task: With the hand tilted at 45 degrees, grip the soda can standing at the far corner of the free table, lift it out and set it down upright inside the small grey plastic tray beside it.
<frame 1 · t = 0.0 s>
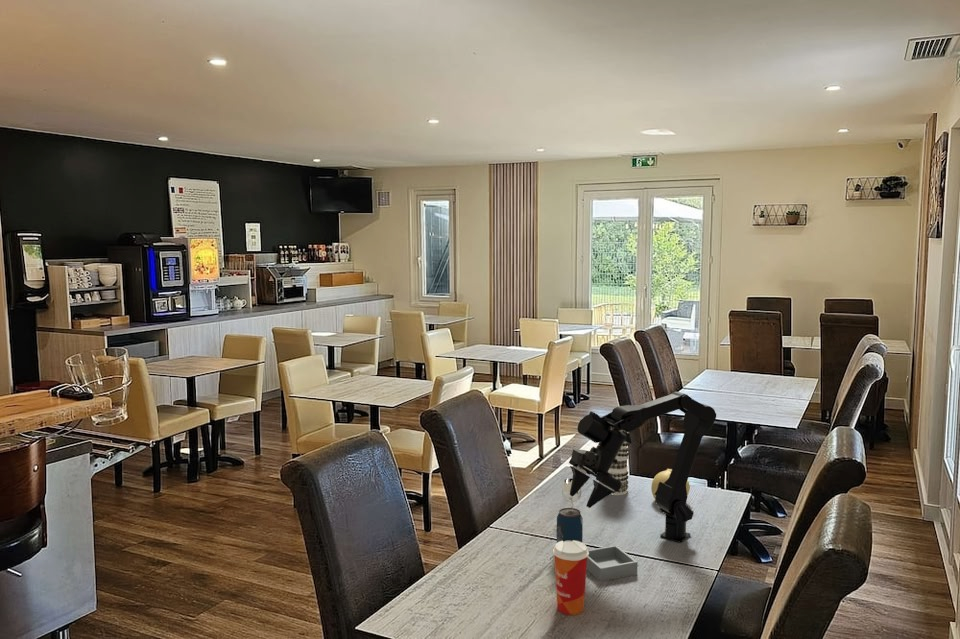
hand: (579, 501, 192), 15 cm above the table, tool tilted 35°, fingers open, 9 cm apart
coffee cup: (570, 609, 165), on the table
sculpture: (670, 503, 231), on the table
decorative candle: (615, 491, 242), on the table
soda can: (569, 555, 194), on the table
wineglass: (571, 519, 218), on the table
tray: (608, 568, 185), on the table
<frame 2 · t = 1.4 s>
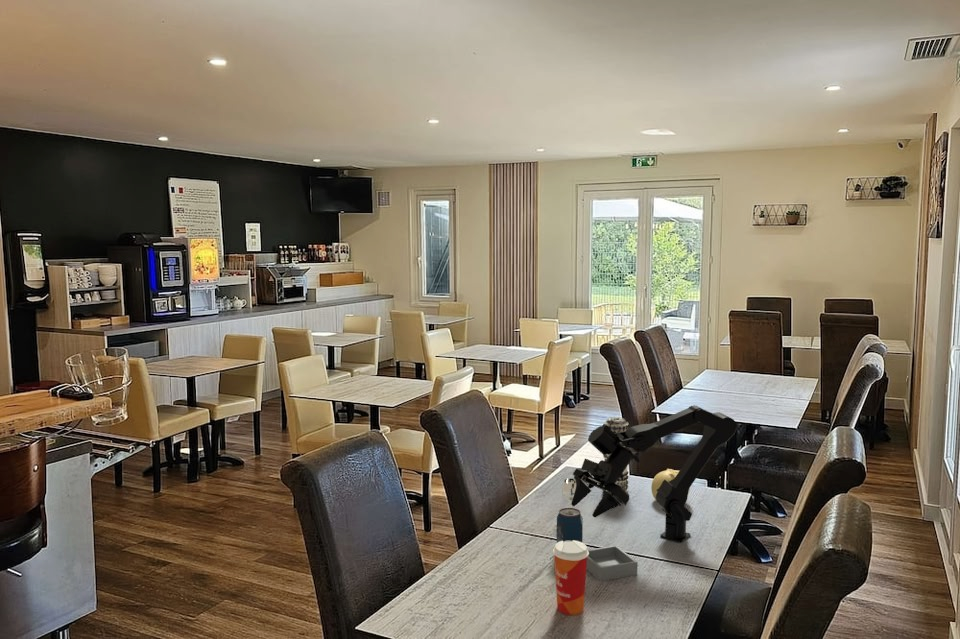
hand: (582, 510, 195), 11 cm above the table, tool tilted 45°, fingers open, 9 cm apart
nothing on the table moved.
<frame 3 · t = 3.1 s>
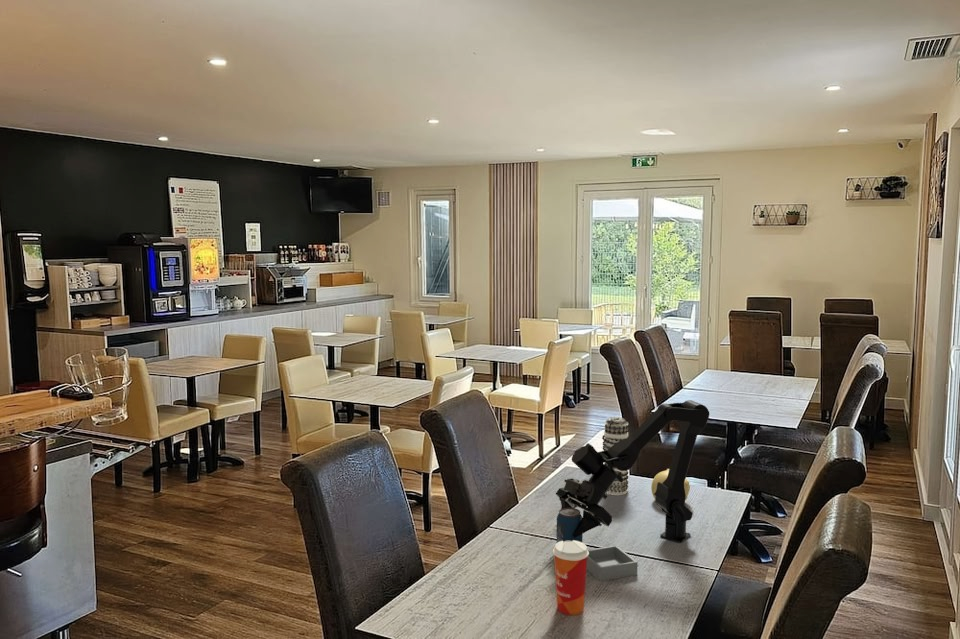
hand: (565, 532, 192), 7 cm above the table, tool tilted 45°, fingers closed on soda can, 7 cm apart
soda can: (569, 554, 194), on the table, touching gripper
everything else where it was.
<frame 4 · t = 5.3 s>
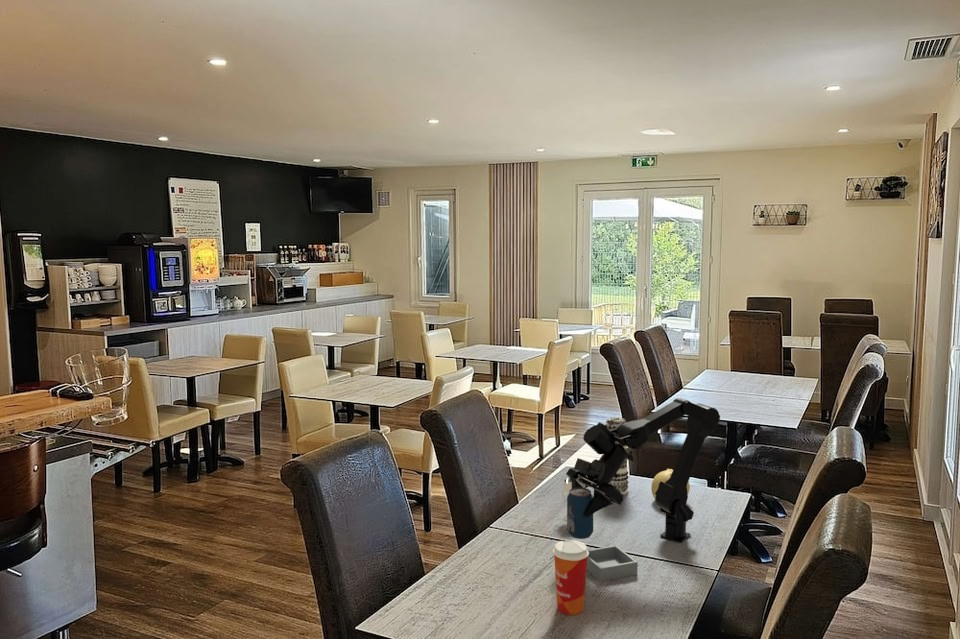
hand: (576, 511, 190), 13 cm above the table, tool tilted 45°, fingers closed on soda can, 7 cm apart
soda can: (580, 535, 191), point 6 cm above the table, touching gripper
everything else where it was.
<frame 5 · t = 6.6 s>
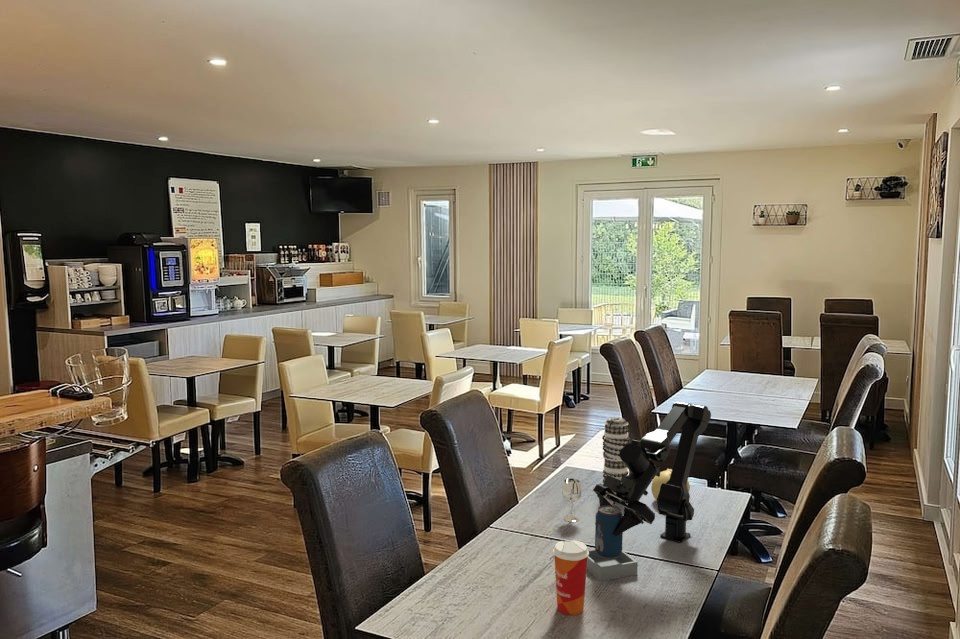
hand: (605, 530, 184), 11 cm above the table, tool tilted 45°, fingers closed on soda can, 7 cm apart
soda can: (608, 554, 185), point 4 cm above the table, touching gripper
everything else where it was.
when the fingers open (9 cm above the table, at t = 7.6 s): soda can stays where it is, resting on tray.
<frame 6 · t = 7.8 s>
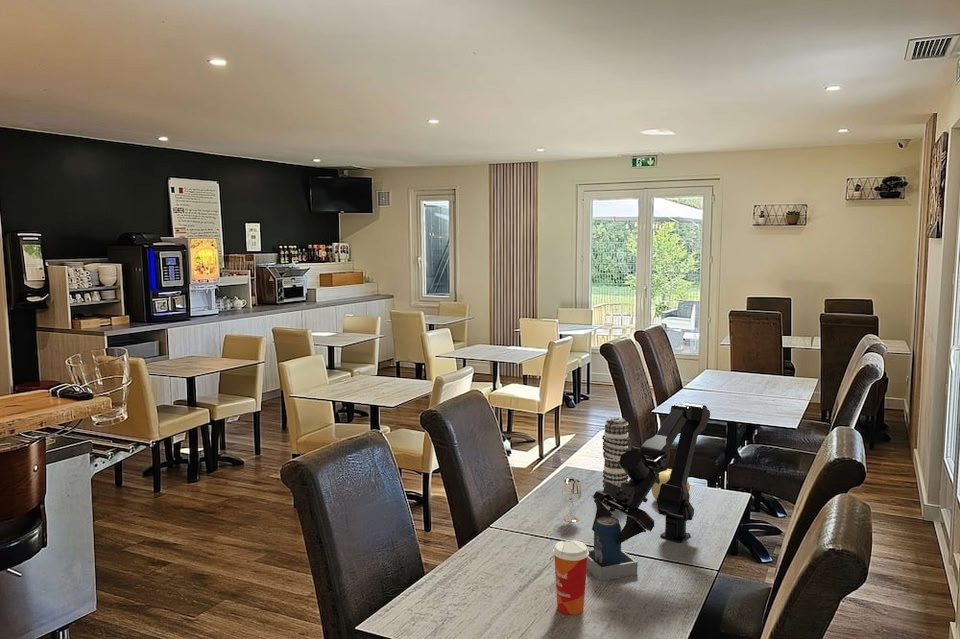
hand: (604, 537, 184), 9 cm above the table, tool tilted 45°, fingers open, 9 cm apart
soda can: (607, 565, 186), point 1 cm above the table, touching tray
everything else where it was.
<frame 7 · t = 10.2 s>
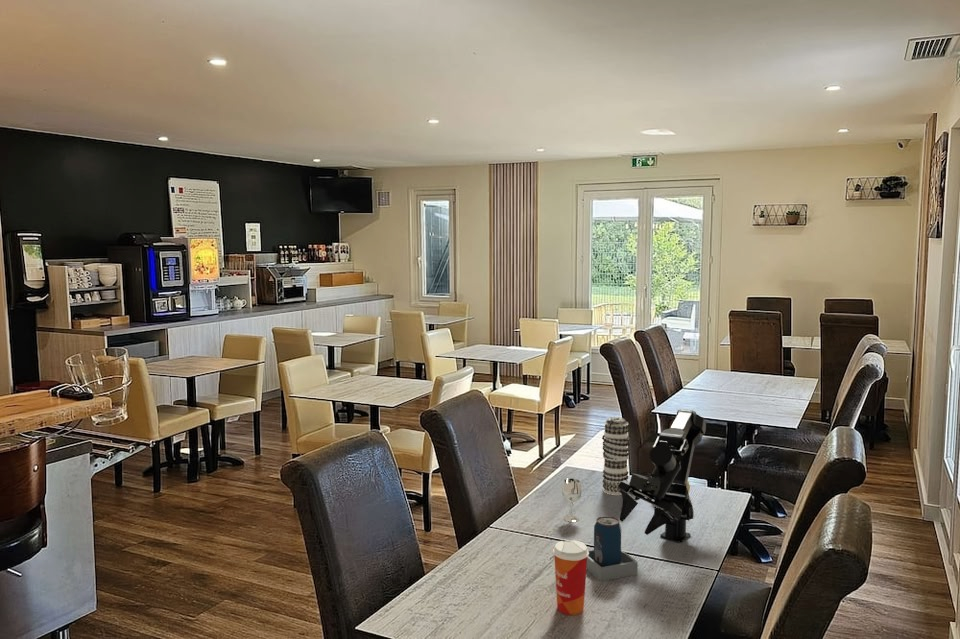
hand: (632, 527, 188), 9 cm above the table, tool tilted 40°, fingers open, 9 cm apart
nothing on the table moved.
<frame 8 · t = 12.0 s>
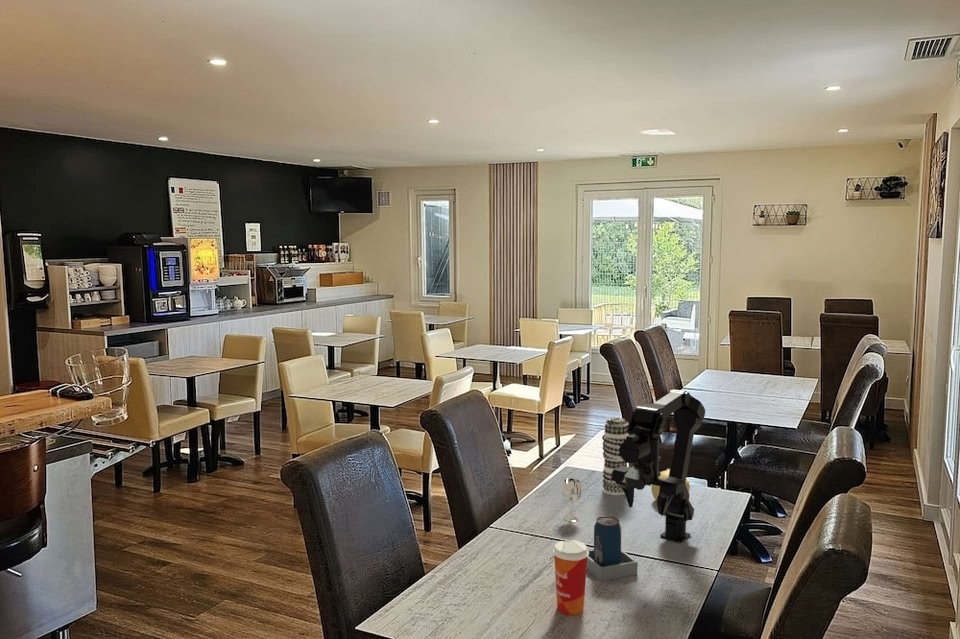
hand: (646, 511, 190), 13 cm above the table, tool pointing down, fingers open, 9 cm apart
nothing on the table moved.
at the end: soda can 0.5 cm off-centre on the tray, point 0.6 cm above the tray's base; soda can tilted 0°; the gripper is holding nothing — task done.
